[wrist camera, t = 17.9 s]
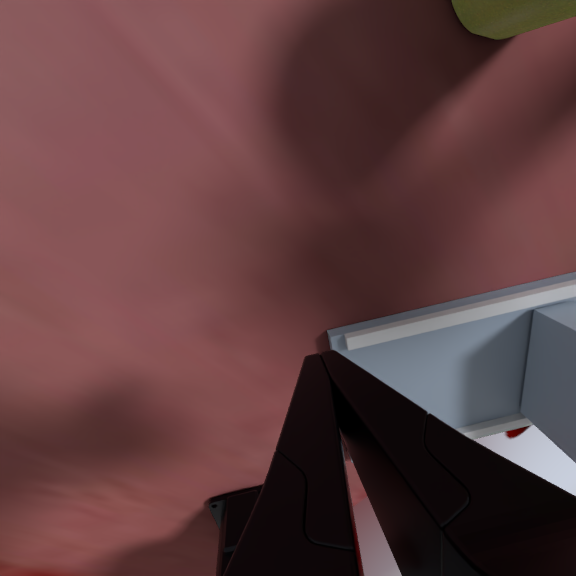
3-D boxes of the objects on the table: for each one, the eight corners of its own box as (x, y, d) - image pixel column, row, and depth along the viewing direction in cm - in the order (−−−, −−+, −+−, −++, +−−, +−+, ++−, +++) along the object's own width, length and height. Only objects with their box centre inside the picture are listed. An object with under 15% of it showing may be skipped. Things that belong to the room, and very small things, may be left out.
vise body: (622, 385, 28) (723, 445, 22) (348, 452, 27) (375, 533, 21) (661, 251, 23) (808, 281, 17) (327, 330, 22) (354, 391, 16)
